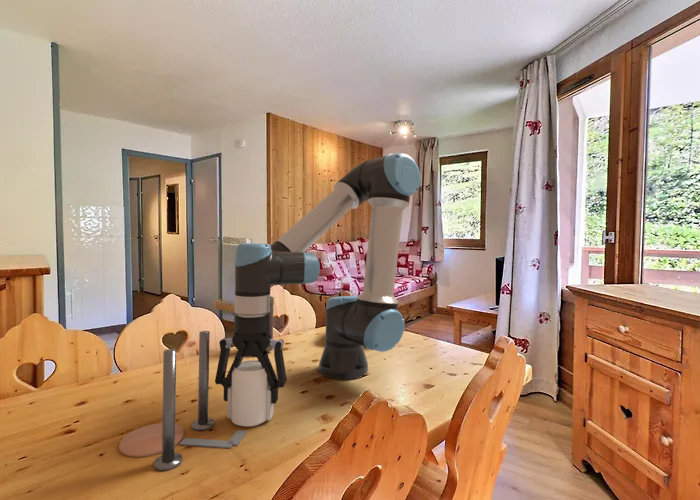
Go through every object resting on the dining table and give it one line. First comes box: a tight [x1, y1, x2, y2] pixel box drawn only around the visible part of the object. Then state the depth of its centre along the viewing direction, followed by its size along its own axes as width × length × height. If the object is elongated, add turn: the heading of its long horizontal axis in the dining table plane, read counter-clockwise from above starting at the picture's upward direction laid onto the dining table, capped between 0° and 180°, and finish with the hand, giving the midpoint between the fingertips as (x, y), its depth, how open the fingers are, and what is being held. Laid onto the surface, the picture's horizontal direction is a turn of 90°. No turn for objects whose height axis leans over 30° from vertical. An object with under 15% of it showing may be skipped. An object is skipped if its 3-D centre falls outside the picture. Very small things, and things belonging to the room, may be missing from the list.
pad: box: [118, 422, 184, 458], centre depth 71 cm, size 11×11×1 cm
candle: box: [266, 295, 275, 353], centre depth 127 cm, size 8×7×20 cm
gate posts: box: [153, 330, 215, 472], centre depth 70 cm, size 4×17×20 cm, turn 176°
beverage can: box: [230, 359, 270, 428], centre depth 79 cm, size 8×8×12 cm
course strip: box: [178, 429, 247, 449], centre depth 72 cm, size 11×6×1 cm, turn 86°
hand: (250, 416), depth 80 cm, fingers closed on beverage can, 8 cm apart
